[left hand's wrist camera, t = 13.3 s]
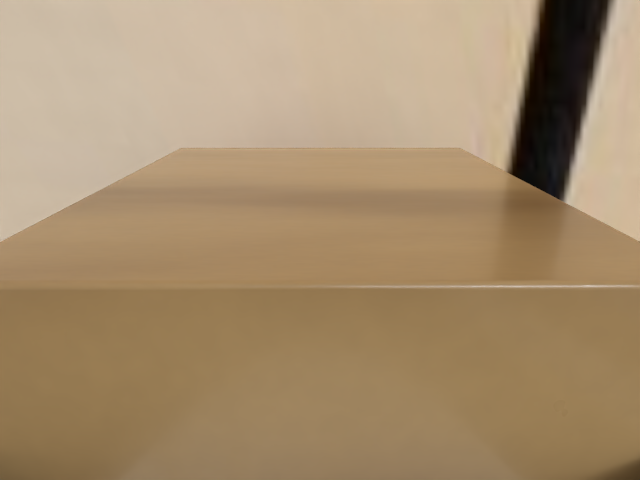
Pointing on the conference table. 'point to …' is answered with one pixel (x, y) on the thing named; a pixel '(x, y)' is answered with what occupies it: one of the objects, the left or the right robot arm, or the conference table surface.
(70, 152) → the conference table surface
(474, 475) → the box
